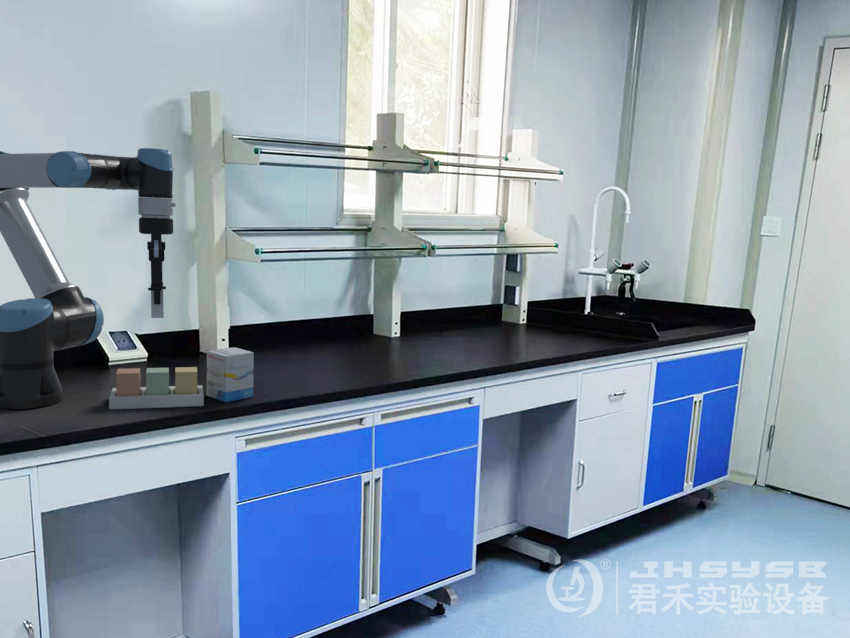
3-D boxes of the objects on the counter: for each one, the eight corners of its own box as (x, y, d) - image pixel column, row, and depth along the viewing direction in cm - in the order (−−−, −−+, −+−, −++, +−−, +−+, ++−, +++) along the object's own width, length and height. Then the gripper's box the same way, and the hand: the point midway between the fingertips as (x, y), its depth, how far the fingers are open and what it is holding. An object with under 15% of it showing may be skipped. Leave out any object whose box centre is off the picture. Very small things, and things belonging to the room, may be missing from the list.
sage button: (146, 397, 176) (146, 372, 175) (147, 392, 181) (146, 368, 180) (168, 397, 178) (168, 372, 177) (168, 391, 182) (168, 367, 182)
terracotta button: (116, 398, 174) (116, 373, 173) (118, 393, 179) (117, 368, 178) (139, 397, 176) (139, 373, 175) (140, 392, 180) (140, 368, 180)
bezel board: (109, 409, 172) (109, 398, 171) (112, 398, 181) (112, 387, 181) (203, 405, 178) (203, 395, 178) (202, 395, 188) (202, 385, 187)
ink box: (254, 397, 188) (254, 351, 186) (225, 402, 182) (225, 356, 180) (234, 390, 194) (234, 346, 192) (205, 395, 187) (205, 350, 186)
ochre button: (175, 396, 178) (175, 372, 177) (175, 391, 183) (175, 367, 182) (197, 396, 180) (197, 371, 179) (196, 390, 185) (196, 367, 184)
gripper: (173, 218, 168) (174, 321, 172) (173, 216, 180) (174, 313, 184) (137, 217, 166) (139, 322, 169) (139, 215, 178) (141, 313, 182)
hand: (157, 317), depth 177 cm, fingers closed
